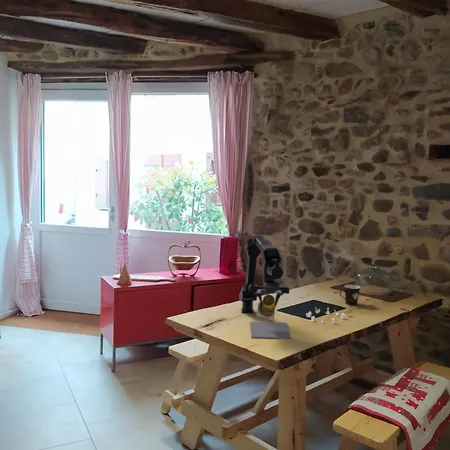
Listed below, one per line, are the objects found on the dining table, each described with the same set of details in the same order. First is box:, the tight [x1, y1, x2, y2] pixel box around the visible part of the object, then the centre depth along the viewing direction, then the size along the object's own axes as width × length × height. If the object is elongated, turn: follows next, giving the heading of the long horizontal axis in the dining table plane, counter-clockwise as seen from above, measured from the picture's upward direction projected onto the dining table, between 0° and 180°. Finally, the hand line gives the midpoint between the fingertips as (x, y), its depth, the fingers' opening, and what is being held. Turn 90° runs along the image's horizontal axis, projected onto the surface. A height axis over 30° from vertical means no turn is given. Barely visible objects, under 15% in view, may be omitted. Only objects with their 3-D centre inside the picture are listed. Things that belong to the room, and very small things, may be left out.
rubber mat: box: [249, 321, 292, 340], centre depth 248 cm, size 22×18×1 cm
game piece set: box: [305, 307, 346, 324], centre depth 269 cm, size 19×20×4 cm
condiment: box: [255, 294, 276, 320], centre depth 247 cm, size 7×8×12 cm
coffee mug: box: [339, 284, 361, 306], centre depth 295 cm, size 12×9×10 cm
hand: (268, 306), depth 245 cm, fingers closed on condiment, 6 cm apart
